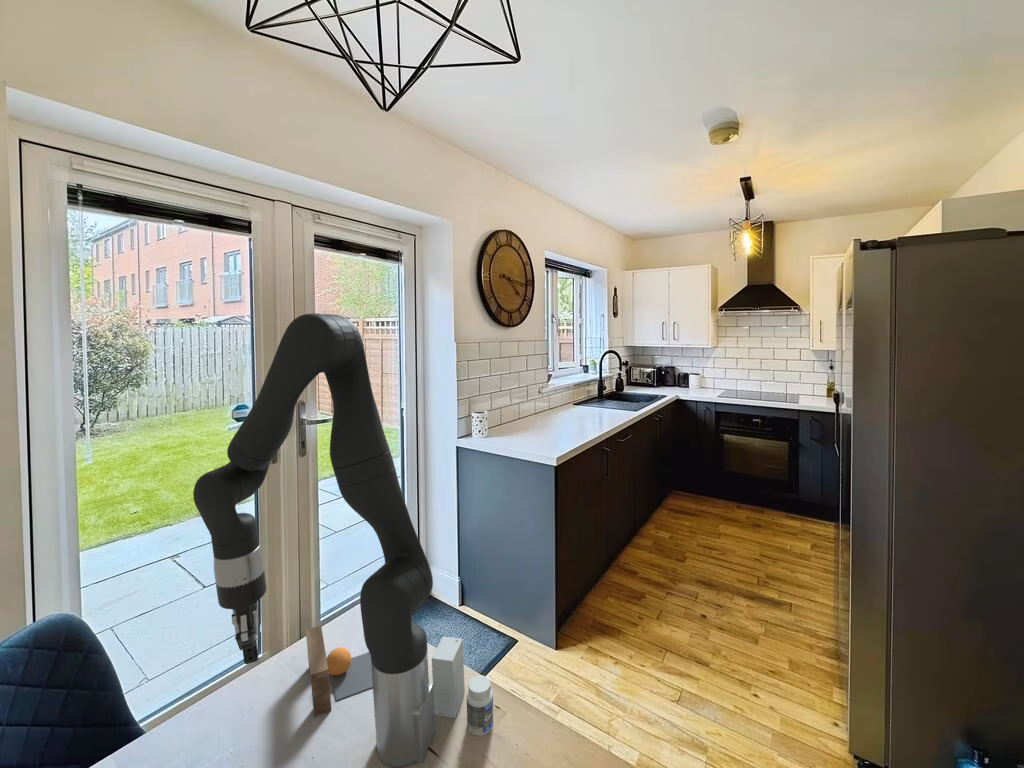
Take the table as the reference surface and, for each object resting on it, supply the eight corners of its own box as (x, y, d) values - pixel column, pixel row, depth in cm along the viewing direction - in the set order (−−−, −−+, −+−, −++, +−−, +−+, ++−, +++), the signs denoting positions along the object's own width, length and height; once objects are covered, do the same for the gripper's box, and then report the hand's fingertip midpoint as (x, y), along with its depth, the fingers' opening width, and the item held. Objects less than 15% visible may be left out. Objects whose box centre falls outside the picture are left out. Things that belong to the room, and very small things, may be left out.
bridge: (314, 716, 85) (310, 675, 84) (309, 667, 97) (305, 630, 96) (331, 710, 86) (328, 669, 85) (324, 662, 98) (321, 625, 97)
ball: (347, 675, 97) (359, 652, 97) (335, 684, 92) (348, 660, 93) (328, 661, 98) (341, 639, 98) (316, 670, 93) (329, 647, 94)
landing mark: (336, 701, 88) (335, 700, 88) (330, 666, 97) (330, 665, 97) (388, 681, 93) (388, 680, 93) (378, 649, 102) (378, 649, 102)
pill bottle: (489, 738, 80) (489, 696, 79) (464, 734, 81) (462, 692, 80) (496, 715, 85) (495, 675, 84) (471, 711, 86) (470, 671, 85)
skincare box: (444, 689, 91) (442, 635, 89) (465, 692, 90) (463, 638, 88) (433, 715, 85) (430, 658, 83) (455, 719, 84) (453, 661, 82)
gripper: (263, 585, 78) (274, 676, 81) (264, 551, 90) (274, 632, 92) (211, 599, 75) (224, 694, 77) (218, 562, 86) (230, 645, 89)
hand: (251, 660), depth 85 cm, fingers closed
